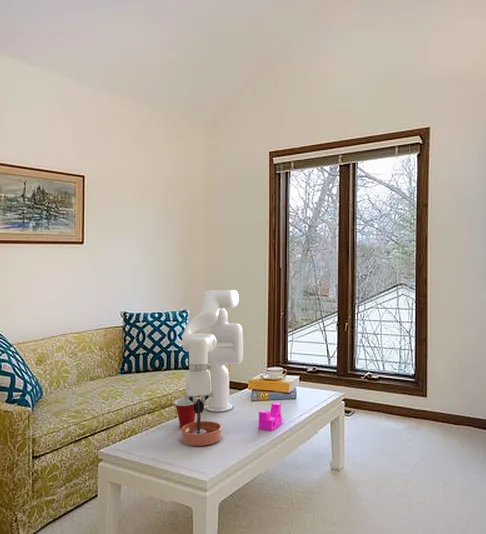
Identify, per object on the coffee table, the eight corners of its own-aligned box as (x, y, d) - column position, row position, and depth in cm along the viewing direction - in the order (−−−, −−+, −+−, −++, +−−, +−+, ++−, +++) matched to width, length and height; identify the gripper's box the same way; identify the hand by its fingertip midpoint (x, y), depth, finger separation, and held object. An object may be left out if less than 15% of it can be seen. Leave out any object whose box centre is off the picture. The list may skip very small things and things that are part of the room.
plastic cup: (169, 427, 217) (168, 400, 217) (189, 421, 225) (189, 395, 225) (183, 432, 210) (183, 404, 209) (203, 426, 217) (203, 399, 217)
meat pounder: (188, 439, 199) (188, 399, 199) (198, 434, 204) (197, 396, 203) (199, 441, 196) (199, 401, 196) (208, 437, 201) (208, 397, 201)
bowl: (173, 442, 198) (172, 430, 198) (199, 430, 212) (198, 418, 212) (204, 449, 190) (204, 437, 190) (229, 436, 204) (229, 424, 204)
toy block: (271, 430, 212) (271, 413, 211) (258, 428, 214) (258, 411, 214) (285, 420, 225) (285, 404, 225) (273, 418, 228) (273, 402, 228)
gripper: (216, 364, 205) (216, 408, 205) (178, 366, 201) (178, 411, 201) (218, 368, 198) (219, 413, 198) (179, 370, 194) (179, 416, 194)
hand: (198, 412), depth 200 cm, fingers closed on meat pounder, 1 cm apart
